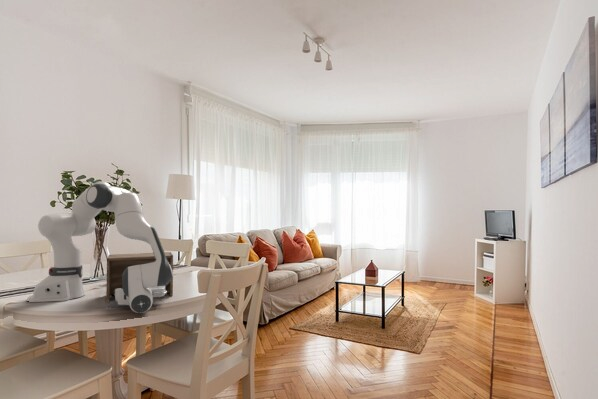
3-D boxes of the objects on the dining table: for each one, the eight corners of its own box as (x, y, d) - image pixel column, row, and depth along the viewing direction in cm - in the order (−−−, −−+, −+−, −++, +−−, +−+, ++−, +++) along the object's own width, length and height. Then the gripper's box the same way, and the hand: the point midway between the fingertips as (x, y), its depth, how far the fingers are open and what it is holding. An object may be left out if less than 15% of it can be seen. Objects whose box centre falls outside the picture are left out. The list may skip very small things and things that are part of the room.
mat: (108, 307, 158) (108, 306, 158) (109, 302, 168) (109, 300, 168) (134, 305, 162) (134, 303, 162) (134, 300, 171) (134, 298, 171)
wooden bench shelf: (172, 295, 180) (173, 255, 180) (106, 301, 169) (106, 258, 169) (170, 289, 194) (170, 252, 194) (108, 294, 183) (109, 254, 183)
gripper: (167, 285, 161) (165, 279, 174) (113, 289, 153) (115, 283, 166) (167, 300, 161) (165, 293, 174) (113, 305, 153) (115, 297, 166)
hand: (140, 288), depth 170 cm, fingers open, 8 cm apart
